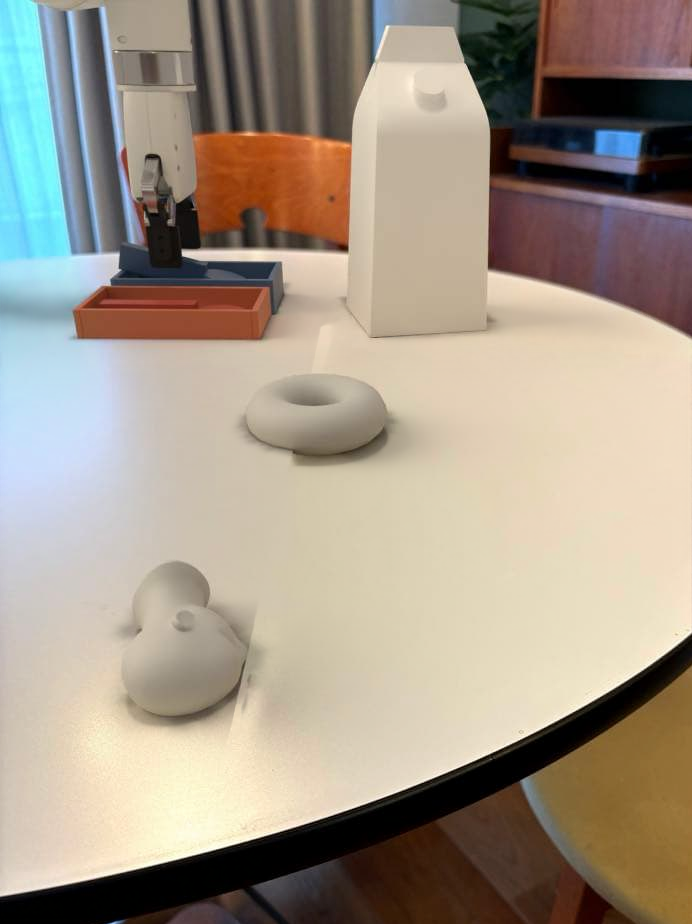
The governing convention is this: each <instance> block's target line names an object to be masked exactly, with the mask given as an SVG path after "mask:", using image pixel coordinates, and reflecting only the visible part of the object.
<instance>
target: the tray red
mask: <svg viewBox="0 0 692 924" xmlns="http://www.w3.org/2000/svg"><path fill="white" fill-rule="evenodd" d="M103 300H197V301H198V308H200V307H203V306H208V305H219V304H226V305H235V306H239V307H242V308H243V309H244V310H239V309H100V307H99V303H100V302H102V301H103ZM72 315H73V320H74V325H75V326H74V327H75V331H76V336H77V339H97V340H98V339H102V340H103V339H105V340H107V339H109V340H110V339H114V340H115V339H116V340H118V339H119V340H120V339H121V340H129V339H130V340H261V338H262V336H263V334H264V331H265V328H266V326H267V324H268V322H269V320H270V317H271V316H272V314H271V302H270V288H269V287H203V286H111V285H101V286H100V287H99V288H97V289H96V290H95V291H94V292H92V293H91V294H90V295H89V296H88V297H86V298H85V299H84V300H83V301H82V302H80V303H79V304H77V306H75V307H74V308H73V309H72Z"/></svg>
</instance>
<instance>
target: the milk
mask: <svg viewBox="0 0 692 924" xmlns="http://www.w3.org/2000/svg"><path fill="white" fill-rule="evenodd" d="M487 114H488V113H487V111H486V108H485V106H484V103H483V101H482V99H481V96H480V94H479V91H478V89H477V86H476V84H475V82H474V79H473V77H472V75H471V73H470V71H469V69H468V66H467V64H466V63H465V57H464V54H463V52H462V49H461V46H460V43H459V40H458V37H457V33H456V30H455V27H454V26H438V25H437V26H435V25H433V26H432V25H428V26H427V25H399V24H398V25H397V24H396V25H395V24H389V25H388V24H387V25H385V28H384V31H383V33H382V37H381V39H380V42H379V46H378V49H377V51H376V54H375V58H374V62H373V63H372V66H371V68H370V69H369V73H368V74H367V78H366V81H365V83H364V86H363V88H362V90H361V93H360V95H359V98H358V100H357V103H356V106H355V109H354V113H353V119H352V128H351V131H352V132H351V136H352V137H351V157H350V158H351V160H350V161H351V163H350V192H349V193H350V194H349V221H348V222H349V224H348V250H347V251H348V253H347V283H346V284H347V285H346V286H347V288H346V308H347V310H348V311H349V312H350V314H351V315H352V316H353V317H354V319H355V320H356V321H357V322H358V324H359V325H360V326H361V328H362V329H363V330H364V331H365V333H366V334H367V335H368V337H369V338H382V337H383V338H384V337H399V336H413V335H415V336H416V335H429V334H431V335H433V334H444V333H445V334H447V333H448V334H449V333H461V332H476V331H477V332H478V331H487V327H488V324H487V323H488V278H489V277H488V276H489V275H488V274H489V271H488V270H489V216H490V215H489V214H490V167H491V166H490V165H491V164H490V159H491V128H490V122H489V117H488V115H487Z"/></svg>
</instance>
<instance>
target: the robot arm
mask: <svg viewBox="0 0 692 924" xmlns="http://www.w3.org/2000/svg"><path fill="white" fill-rule="evenodd" d="M29 1H31V2H33V3H34V4H38V5H41V6H44V7H47V8H49V9H53V10H56V11H60V12H61V11H62V12H63V11H64V12H74V11H76V12H77V11H83V10H89V9H95V8H97V9H98V8H104V9H105V16H106V21H107V22H106V23H107V31H108V39H109V45H110V51H111V58H112V64H113V72H114V73H113V74H114V79H115V85H116V91H119V92H122V93H123V97H122V100H123V103H122V104H123V125H124V127H123V128H124V138H125V148H126V159H127V169H128V177H129V186H130V195H131V197H132V199H133V200H134V201H135V202H136V203H139V204H140V203H142V211H143V212H144V213H143V222H144V228H145V235H146V243H147V247H148V250H149V258H150V264H151V266H152V267H153V268H181V267H182V266H183V258H182V256H183V250H199V249H200V248H201V247H202V239H201V231H200V222H199V221H200V220H199V210H198V209H197V199H196V196H195V191H196V190H197V185H198V176H197V162H196V155H195V153H196V152H195V144H194V136H193V135H194V134H193V128H192V121H191V115H190V114H191V111H190V107H189V101H188V100H189V99H188V94H187V92H188V93H189V92H197V85H196V84H197V81H196V72H195V71H196V70H195V62H194V61H195V60H194V52H193V43H192V32H191V21H190V12H189V3H188V1H189V0H29Z"/></svg>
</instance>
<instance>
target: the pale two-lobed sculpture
mask: <svg viewBox="0 0 692 924" xmlns="http://www.w3.org/2000/svg"><path fill="white" fill-rule="evenodd" d="M210 598H211V588H210V583H209V581H208V580H207V578H206V577H205V575H204V574H203V573H202V572H201V571H200V570H199V569H198V568H196V567H195V566H194V565H192V564H190V563H187V562H186V561H182V560H178V559H169V560H165V561H163V562H162V563H159V564H158V565H156V566H155V567H153V568H152V569H150V571H149V572H148V573H147V574H146V575H145V576H144V578H143V579H142V580H141V582H140V583H139V584H138V586H137V588H136V590H135V592H134V594H133V598H132V603H131V608H132V616H133V618H134V621H135V624H136V626H137V627H138V629H139V630H140V632H139V633H138V634H136V636H135V637H134V638H133V639H132V641H131V642H130V643H129V644H128V646H127V648H126V650H125V651H124V654H123V656H122V659H121V665H120V666H121V667H120V674H121V680H122V683H123V686H124V689H125V691H126V692H127V694H128V696H129V697H130V699H131V700H132V701H133V702H134V703H135V704H136V705H137V706H139V708H142V709H143V710H145V711H147V712H148V713H151V714H154V715H156V716H160V717H180V716H186V715H191V714H196V713H199V712H201V711H203V710H206V709H208V708H209V707H212V706H214V705H215V704H217V703H219V702H220V701H222V700H223V699H224V698H226V696H228V695H229V694H230V693H231V692H232V691H233V690H234V689H235V687H236V686H237V684H238V682H239V680H240V678H241V674H242V667H243V665H244V663H245V661H246V660H247V658H248V649H247V647H246V645H245V644H244V643H243V642H242V641H241V640H240V639H239V638H238V637H237V635H236V633H235V632H234V631H233V629H232V628H231V627H230V625H229V623H228V621H227V620H226V619H225V618H224V617H223V616H221V615H220V614H218V613H217V612H216V611H214V610H212V609H209V608H207V605H208V604H209V602H210Z"/></svg>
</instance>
